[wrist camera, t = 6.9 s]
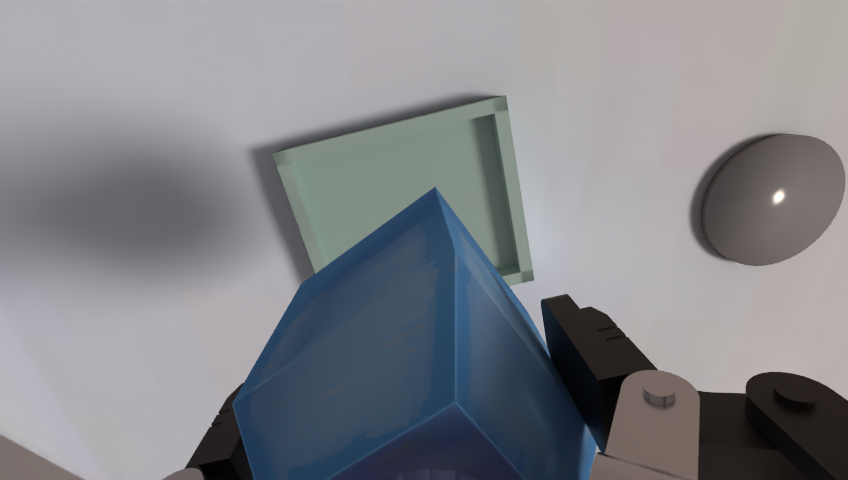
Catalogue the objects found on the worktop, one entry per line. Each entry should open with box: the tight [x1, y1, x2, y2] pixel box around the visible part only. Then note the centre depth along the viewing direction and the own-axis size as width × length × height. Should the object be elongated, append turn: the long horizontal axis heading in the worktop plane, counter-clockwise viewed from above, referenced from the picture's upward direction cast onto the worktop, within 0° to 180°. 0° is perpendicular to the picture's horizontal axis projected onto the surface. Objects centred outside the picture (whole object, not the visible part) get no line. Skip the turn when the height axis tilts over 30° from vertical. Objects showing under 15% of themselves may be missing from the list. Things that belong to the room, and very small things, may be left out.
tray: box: [272, 96, 534, 286], centre depth 26 cm, size 12×14×2 cm
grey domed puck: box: [701, 134, 845, 266], centre depth 27 cm, size 9×9×1 cm
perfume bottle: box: [232, 187, 597, 480], centre depth 10 cm, size 6×6×12 cm
